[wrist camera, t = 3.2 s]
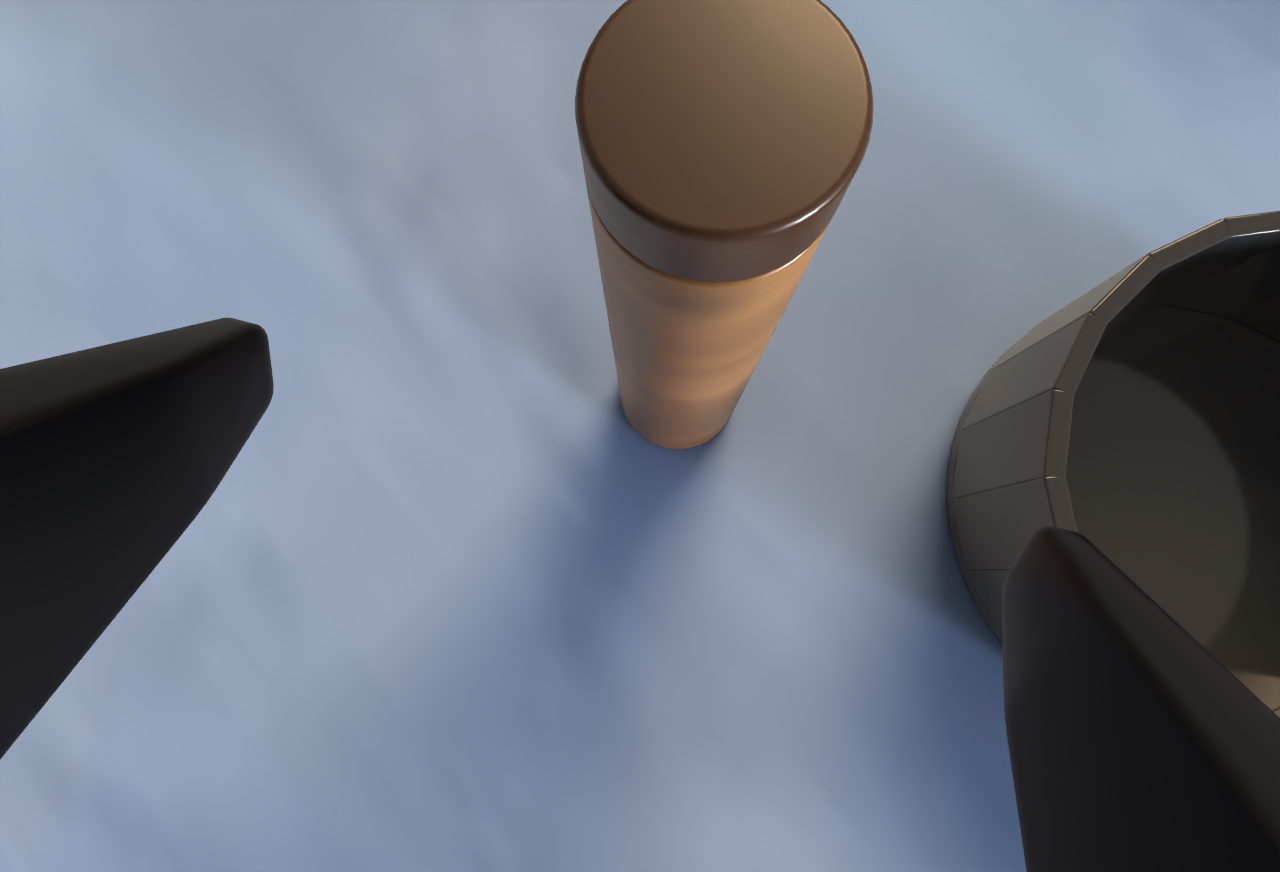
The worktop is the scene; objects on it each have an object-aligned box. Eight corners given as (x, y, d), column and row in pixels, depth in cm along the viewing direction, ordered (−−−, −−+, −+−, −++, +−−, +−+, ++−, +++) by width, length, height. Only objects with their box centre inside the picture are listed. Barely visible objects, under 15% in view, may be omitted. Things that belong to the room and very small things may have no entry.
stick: (758, 395, 20) (938, 100, 7) (675, 473, 19) (722, 301, 7) (679, 316, 20) (726, -91, 8) (597, 391, 20) (511, 91, 7)
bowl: (1478, 516, 19) (1768, 496, 14) (1191, 837, 18) (1397, 937, 13) (1141, 217, 20) (1298, 103, 15) (855, 498, 19) (926, 473, 14)
